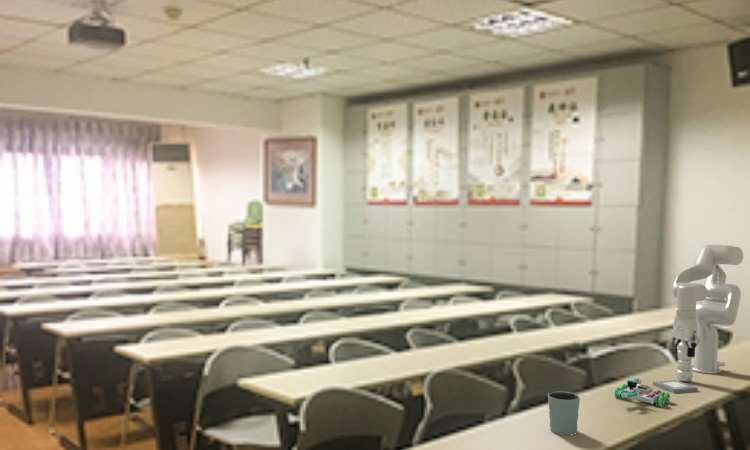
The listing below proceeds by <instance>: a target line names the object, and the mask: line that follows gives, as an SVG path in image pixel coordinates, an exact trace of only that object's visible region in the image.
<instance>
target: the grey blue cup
mask: <svg viewBox="0 0 750 450" xmlns="http://www.w3.org/2000/svg"><path fill="white" fill-rule="evenodd" d="M547 400H548V401H547V402H548V409H549V411H548V414H549V430H550V432H552V433H553V434H556V435H559V434H561V435H560V436H565V435H570V436H572V435H571V434H575V433H576V434H577V433H578V421H579V408H580V400H581V396H580V395H579V394H577V393H574V392H570V391H560V390H559V391H557V390H556V391H551V392H548V394H547ZM562 434H563V435H562ZM576 434H575V435H576Z"/></svg>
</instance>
